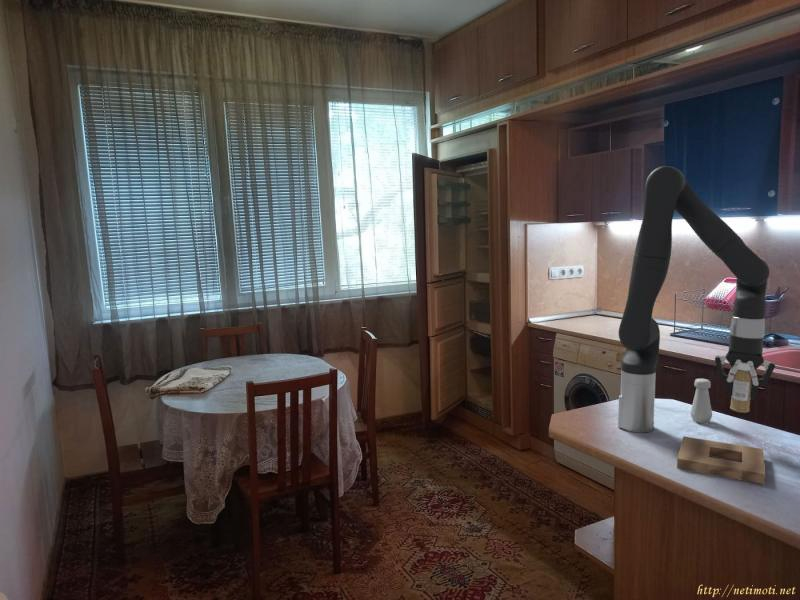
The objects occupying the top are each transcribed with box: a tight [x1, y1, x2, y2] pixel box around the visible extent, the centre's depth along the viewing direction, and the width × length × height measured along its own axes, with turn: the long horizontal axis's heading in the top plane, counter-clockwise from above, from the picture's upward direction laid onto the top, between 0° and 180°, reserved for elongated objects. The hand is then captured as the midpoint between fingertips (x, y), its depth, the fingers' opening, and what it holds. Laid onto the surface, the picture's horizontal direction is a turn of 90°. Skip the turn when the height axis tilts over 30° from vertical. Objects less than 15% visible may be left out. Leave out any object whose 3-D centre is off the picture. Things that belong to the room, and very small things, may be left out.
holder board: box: [676, 436, 766, 485], centre depth 136 cm, size 18×16×2 cm
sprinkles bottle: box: [729, 362, 753, 414], centre depth 145 cm, size 5×5×13 cm
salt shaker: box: [690, 378, 713, 425], centre depth 164 cm, size 6×6×13 cm
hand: (741, 396), depth 145 cm, fingers closed on sprinkles bottle, 4 cm apart
